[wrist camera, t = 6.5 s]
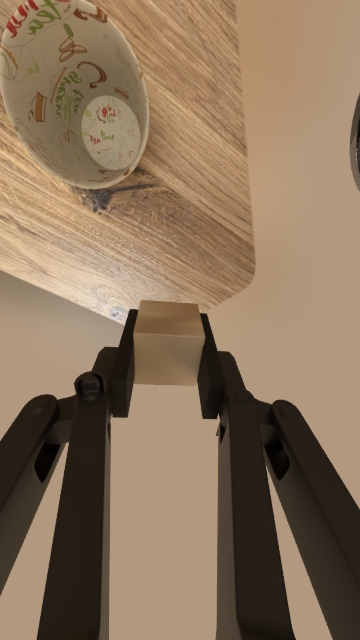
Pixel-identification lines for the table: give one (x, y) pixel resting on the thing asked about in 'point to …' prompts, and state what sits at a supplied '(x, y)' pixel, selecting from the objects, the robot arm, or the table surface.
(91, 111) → the mug
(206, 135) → the table surface
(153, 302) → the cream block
